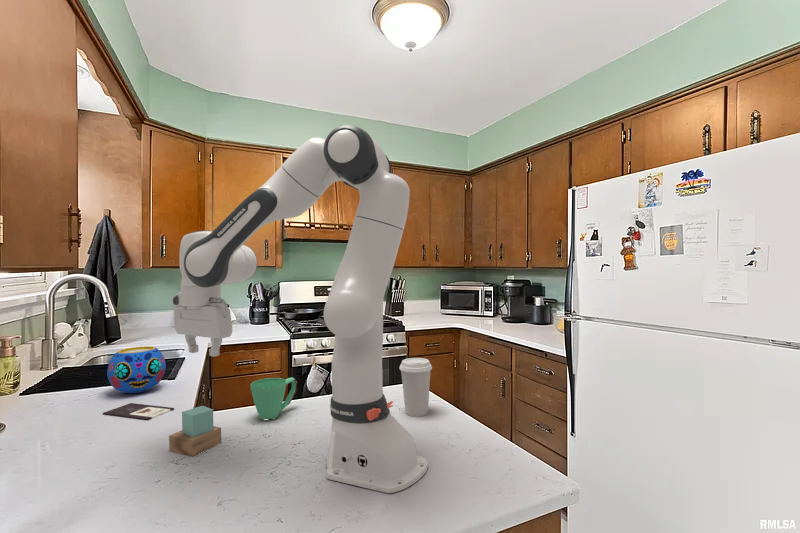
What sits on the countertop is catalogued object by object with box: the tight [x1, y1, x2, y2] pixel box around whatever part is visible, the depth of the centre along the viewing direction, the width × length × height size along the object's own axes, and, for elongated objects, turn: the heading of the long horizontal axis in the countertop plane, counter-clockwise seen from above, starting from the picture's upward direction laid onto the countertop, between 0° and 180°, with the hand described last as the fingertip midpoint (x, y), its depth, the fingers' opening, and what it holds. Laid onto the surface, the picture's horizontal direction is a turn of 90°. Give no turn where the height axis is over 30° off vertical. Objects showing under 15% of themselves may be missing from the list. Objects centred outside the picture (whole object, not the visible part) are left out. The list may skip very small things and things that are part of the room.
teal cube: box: [181, 405, 214, 437], centre depth 97 cm, size 5×5×5 cm
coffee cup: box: [399, 357, 433, 418], centre depth 117 cm, size 10×10×15 cm
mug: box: [249, 377, 298, 420], centre depth 118 cm, size 15×10×10 cm
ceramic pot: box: [106, 345, 167, 394], centre depth 144 cm, size 18×18×15 cm
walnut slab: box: [168, 425, 222, 457], centre depth 97 cm, size 8×8×4 cm
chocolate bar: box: [102, 402, 175, 421], centre depth 122 cm, size 9×1×18 cm
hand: (203, 354), depth 98 cm, fingers open, 8 cm apart
